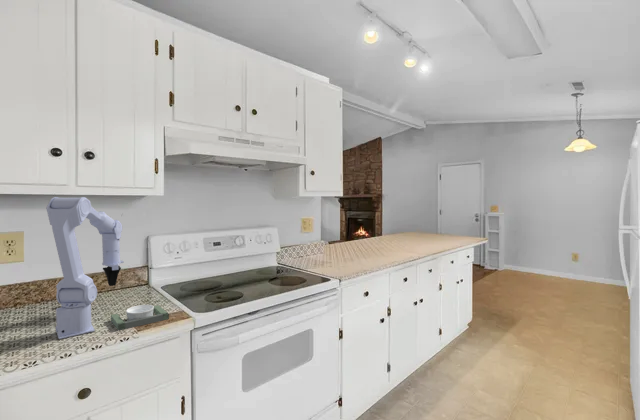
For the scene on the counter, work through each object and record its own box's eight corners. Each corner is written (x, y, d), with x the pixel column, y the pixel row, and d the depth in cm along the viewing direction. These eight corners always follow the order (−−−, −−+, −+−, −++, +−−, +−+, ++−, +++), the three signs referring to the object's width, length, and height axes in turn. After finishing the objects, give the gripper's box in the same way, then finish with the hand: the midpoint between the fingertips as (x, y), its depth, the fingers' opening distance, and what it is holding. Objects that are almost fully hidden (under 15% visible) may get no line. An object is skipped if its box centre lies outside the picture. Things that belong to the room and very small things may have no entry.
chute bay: (118, 330, 114) (118, 324, 113) (111, 320, 123) (110, 314, 122) (168, 318, 124) (168, 313, 124) (158, 310, 133) (158, 305, 133)
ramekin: (141, 326, 118) (141, 313, 118) (120, 323, 120) (119, 311, 120) (159, 317, 126) (159, 305, 126) (139, 315, 128) (138, 303, 128)
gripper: (127, 252, 130) (128, 287, 131) (119, 247, 141) (120, 280, 142) (105, 254, 126) (106, 290, 126) (98, 249, 137) (99, 283, 137)
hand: (112, 285), depth 134 cm, fingers closed
